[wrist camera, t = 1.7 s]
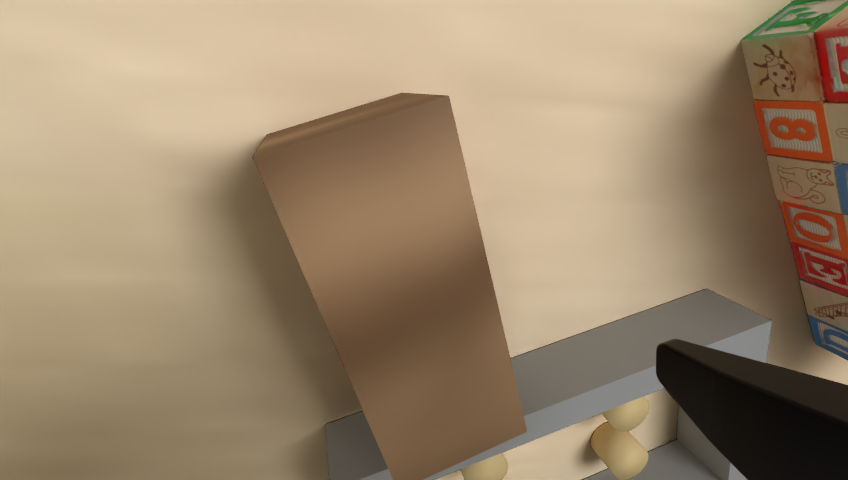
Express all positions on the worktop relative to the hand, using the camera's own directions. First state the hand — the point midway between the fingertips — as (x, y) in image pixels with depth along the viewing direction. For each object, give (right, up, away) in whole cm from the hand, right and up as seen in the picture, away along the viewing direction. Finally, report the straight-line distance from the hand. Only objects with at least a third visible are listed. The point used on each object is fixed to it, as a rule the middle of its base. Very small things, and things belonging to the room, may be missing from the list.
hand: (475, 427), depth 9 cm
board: (-3, +3, +9) cm, 10 cm away
